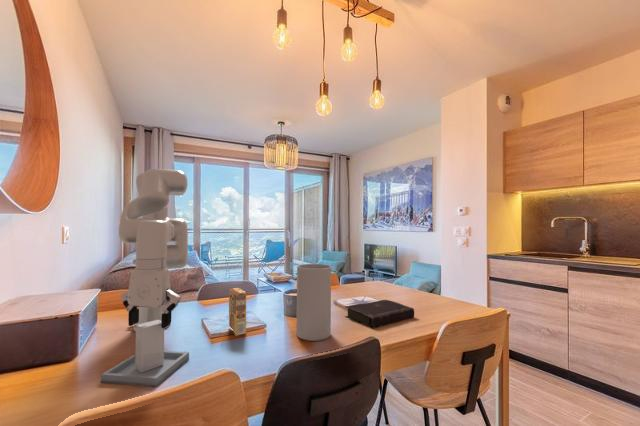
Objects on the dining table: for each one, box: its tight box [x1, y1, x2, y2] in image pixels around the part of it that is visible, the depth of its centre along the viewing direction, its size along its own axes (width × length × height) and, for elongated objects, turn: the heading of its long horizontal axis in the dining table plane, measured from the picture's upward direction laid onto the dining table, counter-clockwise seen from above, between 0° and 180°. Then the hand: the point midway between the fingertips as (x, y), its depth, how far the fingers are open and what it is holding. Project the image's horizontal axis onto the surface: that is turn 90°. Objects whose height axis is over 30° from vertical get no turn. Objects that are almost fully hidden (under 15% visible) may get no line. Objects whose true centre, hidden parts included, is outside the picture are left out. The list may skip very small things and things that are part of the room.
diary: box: [344, 299, 415, 329], centre depth 129 cm, size 19×25×5 cm
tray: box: [100, 350, 190, 387], centre depth 82 cm, size 15×15×2 cm
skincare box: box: [135, 320, 165, 373], centre depth 82 cm, size 6×4×12 cm
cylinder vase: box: [295, 263, 332, 342], centre depth 108 cm, size 12×12×25 cm
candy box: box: [228, 287, 247, 336], centre depth 111 cm, size 9×4×15 cm, turn 33°
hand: (149, 325), depth 83 cm, fingers open, 9 cm apart
